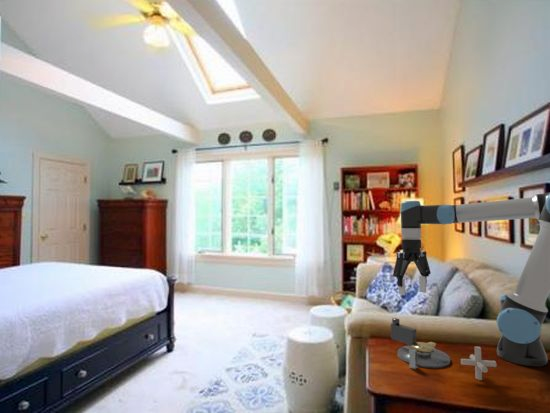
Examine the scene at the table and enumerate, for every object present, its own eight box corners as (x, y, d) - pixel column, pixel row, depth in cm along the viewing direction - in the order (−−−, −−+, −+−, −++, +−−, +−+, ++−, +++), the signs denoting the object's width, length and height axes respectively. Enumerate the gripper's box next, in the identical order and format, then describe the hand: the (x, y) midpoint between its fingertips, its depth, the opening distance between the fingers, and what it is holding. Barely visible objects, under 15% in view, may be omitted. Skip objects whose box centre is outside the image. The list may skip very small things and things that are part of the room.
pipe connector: (503, 387, 102) (502, 354, 103) (467, 384, 104) (466, 352, 105) (489, 373, 112) (488, 342, 113) (456, 370, 114) (456, 340, 115)
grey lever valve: (443, 348, 125) (442, 326, 126) (421, 356, 119) (421, 333, 119) (403, 335, 140) (402, 315, 141) (382, 341, 133) (381, 320, 134)
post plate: (460, 360, 122) (459, 343, 123) (425, 374, 111) (425, 356, 112) (416, 345, 138) (416, 330, 138) (382, 356, 127) (382, 340, 127)
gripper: (424, 237, 145) (426, 289, 144) (382, 239, 136) (383, 294, 135) (439, 238, 138) (441, 292, 137) (396, 240, 129) (397, 298, 128)
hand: (412, 293), depth 136 cm, fingers open, 10 cm apart
